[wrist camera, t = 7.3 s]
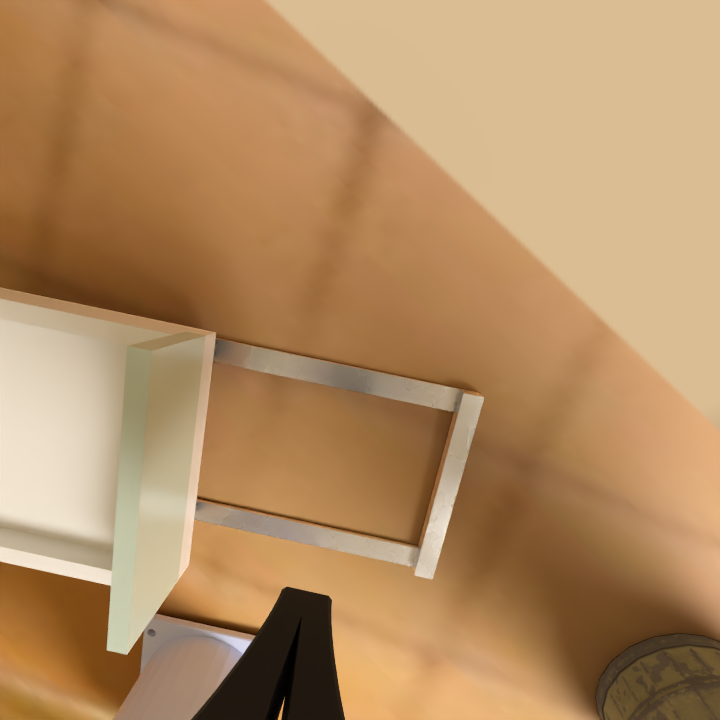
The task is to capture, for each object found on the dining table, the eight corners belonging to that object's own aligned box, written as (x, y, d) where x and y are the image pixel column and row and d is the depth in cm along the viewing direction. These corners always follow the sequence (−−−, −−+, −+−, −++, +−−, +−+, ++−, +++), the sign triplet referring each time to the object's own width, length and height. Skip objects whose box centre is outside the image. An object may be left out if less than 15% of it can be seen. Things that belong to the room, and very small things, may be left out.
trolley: (207, 537, 20) (127, 654, 14) (-1, 492, 21) (-176, 587, 14) (234, 327, 18) (152, 351, 12) (-4, 277, 18) (-216, 273, 12)
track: (430, 568, 20) (432, 579, 20) (-20, 471, 21) (-36, 478, 20) (479, 392, 18) (484, 397, 18) (-23, 287, 19) (-41, 287, 18)
